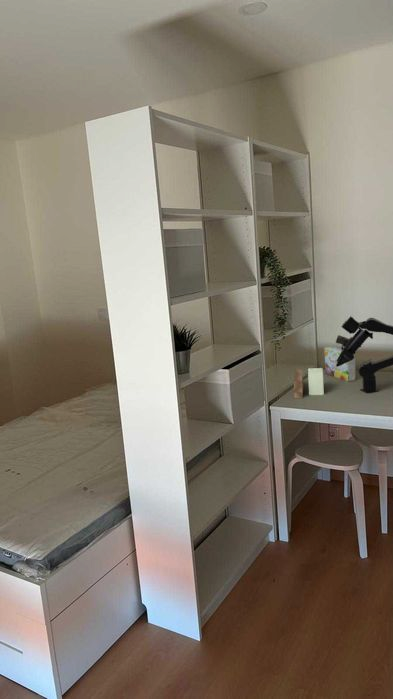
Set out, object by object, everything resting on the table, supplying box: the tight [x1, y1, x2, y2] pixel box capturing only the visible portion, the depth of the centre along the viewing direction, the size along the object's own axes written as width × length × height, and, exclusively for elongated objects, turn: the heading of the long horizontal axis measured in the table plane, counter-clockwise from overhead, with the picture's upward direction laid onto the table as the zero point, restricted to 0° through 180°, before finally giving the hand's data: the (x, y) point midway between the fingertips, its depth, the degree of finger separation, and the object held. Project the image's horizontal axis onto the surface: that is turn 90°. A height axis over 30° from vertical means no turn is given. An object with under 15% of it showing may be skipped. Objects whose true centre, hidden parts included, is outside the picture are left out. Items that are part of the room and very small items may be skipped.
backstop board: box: [293, 369, 304, 399], centre depth 269 cm, size 4×20×9 cm, turn 168°
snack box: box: [323, 346, 357, 382], centre depth 290 cm, size 21×6×15 cm, turn 21°
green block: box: [307, 367, 325, 396], centre depth 267 cm, size 7×10×11 cm
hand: (336, 363), depth 264 cm, fingers open, 9 cm apart
